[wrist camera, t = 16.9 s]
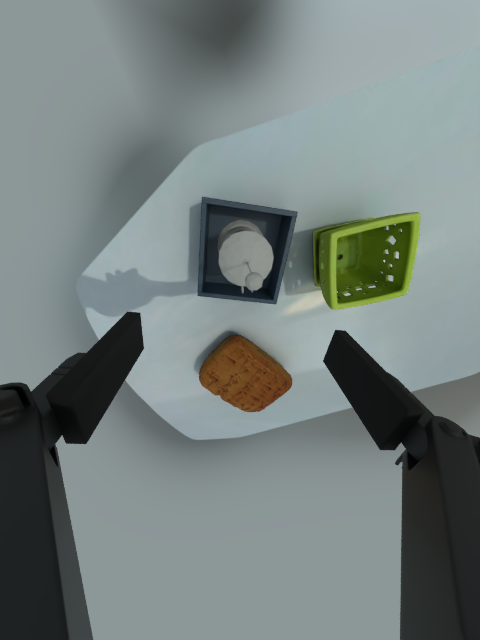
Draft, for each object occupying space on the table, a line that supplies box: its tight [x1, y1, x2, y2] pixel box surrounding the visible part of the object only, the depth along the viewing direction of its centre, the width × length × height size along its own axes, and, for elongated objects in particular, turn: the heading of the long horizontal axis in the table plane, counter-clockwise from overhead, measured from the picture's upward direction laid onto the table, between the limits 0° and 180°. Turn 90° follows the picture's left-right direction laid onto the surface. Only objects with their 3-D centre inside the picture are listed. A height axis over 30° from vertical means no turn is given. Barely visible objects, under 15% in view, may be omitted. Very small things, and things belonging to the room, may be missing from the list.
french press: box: [218, 220, 274, 293], centre depth 32 cm, size 10×12×25 cm
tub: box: [198, 197, 298, 304], centre depth 40 cm, size 17×16×8 cm
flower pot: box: [313, 212, 420, 309], centre depth 40 cm, size 14×14×13 cm
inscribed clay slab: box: [199, 335, 292, 412], centre depth 55 cm, size 22×17×8 cm
